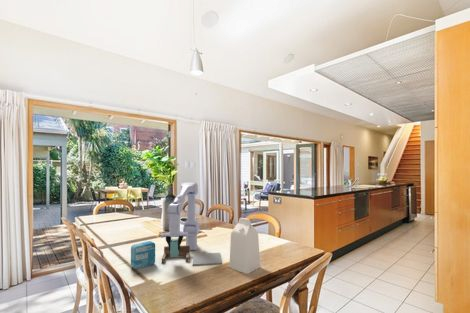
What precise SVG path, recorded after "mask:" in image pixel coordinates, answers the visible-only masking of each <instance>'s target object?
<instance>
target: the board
mask: <svg viewBox="0 0 470 313" xmlns="http://www.w3.org/2000/svg"><path fill="white" fill-rule="evenodd" d="M192 259H193V260H192V267H194V266H209V265H211V266H212V264H213V265H214V264H215V265H222V256H221V252H206V253H204V252H203V253H193V258H192Z"/></svg>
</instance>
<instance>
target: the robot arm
mask: <svg viewBox="0 0 470 313" xmlns="http://www.w3.org/2000/svg"><path fill="white" fill-rule="evenodd" d="M198 190H199V185H198V183H197V182H185V181H184V182H183V181H182V183H181V184H180V192H179V194H178V195H176V196H175V197H174V199H173V201H172V203H170V204H169V205H168V206H167V216H168V219H169V221H168V222H169V228H168V230H169V232H165V233H161V234H160V238H161V239H163V238H165V241H166V243H167V246H169V251H170V242H171V239H172V238H177V239H178V250H180V246H181V245H182V242H183V239H184V237H185V245H190V251H198V247H199V246H198V235H199V233H200V227H201V226H200V222H199V221H198V220H196V196H197V195H198V193H199V192H198ZM186 197H187V220H186V221H184V223H183V228H182V231H181V213H182V210H183V205H184V204H185V202H186V199H185V198H186Z"/></svg>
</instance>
